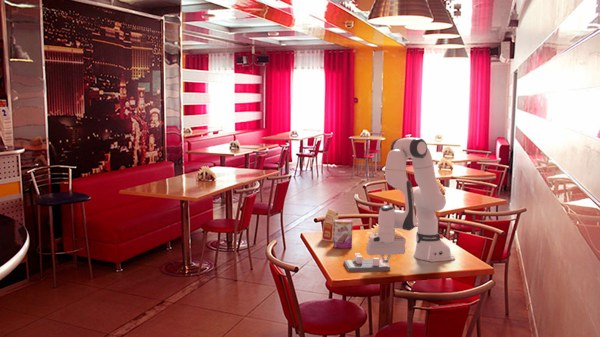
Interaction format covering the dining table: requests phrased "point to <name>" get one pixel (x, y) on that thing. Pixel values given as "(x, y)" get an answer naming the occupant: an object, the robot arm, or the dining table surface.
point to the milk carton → (329, 225)
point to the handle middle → (359, 259)
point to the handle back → (356, 255)
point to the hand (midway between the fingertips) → (385, 262)
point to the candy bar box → (342, 234)
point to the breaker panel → (366, 265)
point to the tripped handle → (376, 261)
